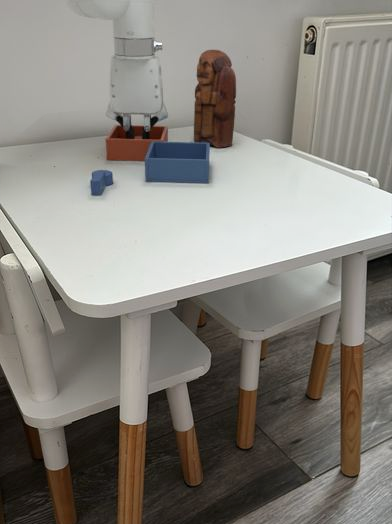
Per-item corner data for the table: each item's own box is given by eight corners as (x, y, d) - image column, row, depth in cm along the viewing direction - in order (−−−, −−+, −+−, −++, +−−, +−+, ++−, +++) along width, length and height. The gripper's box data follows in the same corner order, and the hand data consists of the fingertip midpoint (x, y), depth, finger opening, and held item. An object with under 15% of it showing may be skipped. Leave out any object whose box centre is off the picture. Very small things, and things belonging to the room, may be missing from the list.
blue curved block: (106, 195, 93) (105, 181, 91) (85, 194, 93) (83, 180, 91) (114, 180, 99) (113, 166, 98) (94, 179, 99) (93, 166, 98)
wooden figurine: (184, 138, 125) (184, 48, 115) (206, 134, 128) (208, 46, 118) (217, 150, 117) (221, 54, 107) (240, 145, 121) (245, 52, 111)
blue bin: (145, 181, 99) (144, 158, 97) (152, 162, 109) (151, 141, 107) (208, 183, 99) (209, 160, 97) (209, 163, 109) (209, 142, 107)
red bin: (106, 160, 110) (105, 139, 108) (116, 144, 120) (114, 124, 118) (163, 161, 110) (163, 140, 107) (168, 145, 120) (167, 126, 118)
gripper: (178, 47, 107) (178, 146, 117) (95, 45, 107) (103, 144, 117) (175, 51, 101) (176, 156, 111) (88, 50, 101) (96, 154, 111)
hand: (138, 149), depth 114 cm, fingers closed
